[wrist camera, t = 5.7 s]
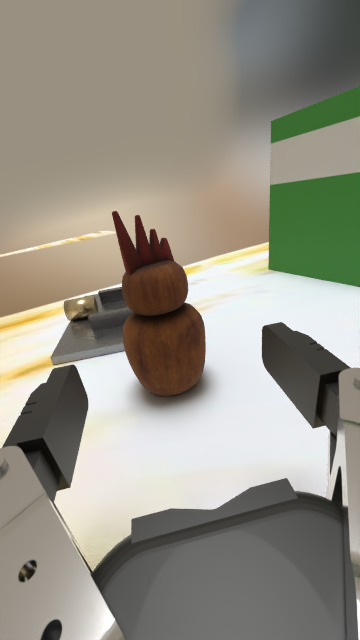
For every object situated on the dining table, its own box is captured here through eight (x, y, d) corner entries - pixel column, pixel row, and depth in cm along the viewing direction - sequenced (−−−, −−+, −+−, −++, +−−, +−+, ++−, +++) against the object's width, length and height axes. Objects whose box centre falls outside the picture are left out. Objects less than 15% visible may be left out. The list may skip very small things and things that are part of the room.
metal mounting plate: (168, 286, 49) (165, 266, 48) (189, 337, 30) (184, 307, 29) (85, 301, 48) (79, 281, 46) (53, 364, 29) (40, 334, 27)
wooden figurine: (139, 415, 20) (83, 216, 14) (134, 373, 26) (92, 213, 19) (218, 393, 21) (201, 198, 15) (198, 357, 27) (179, 200, 20)
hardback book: (268, 269, 50) (271, 121, 40) (293, 260, 53) (301, 121, 43) (365, 288, 36) (409, 66, 26) (391, 274, 39) (439, 71, 29)
